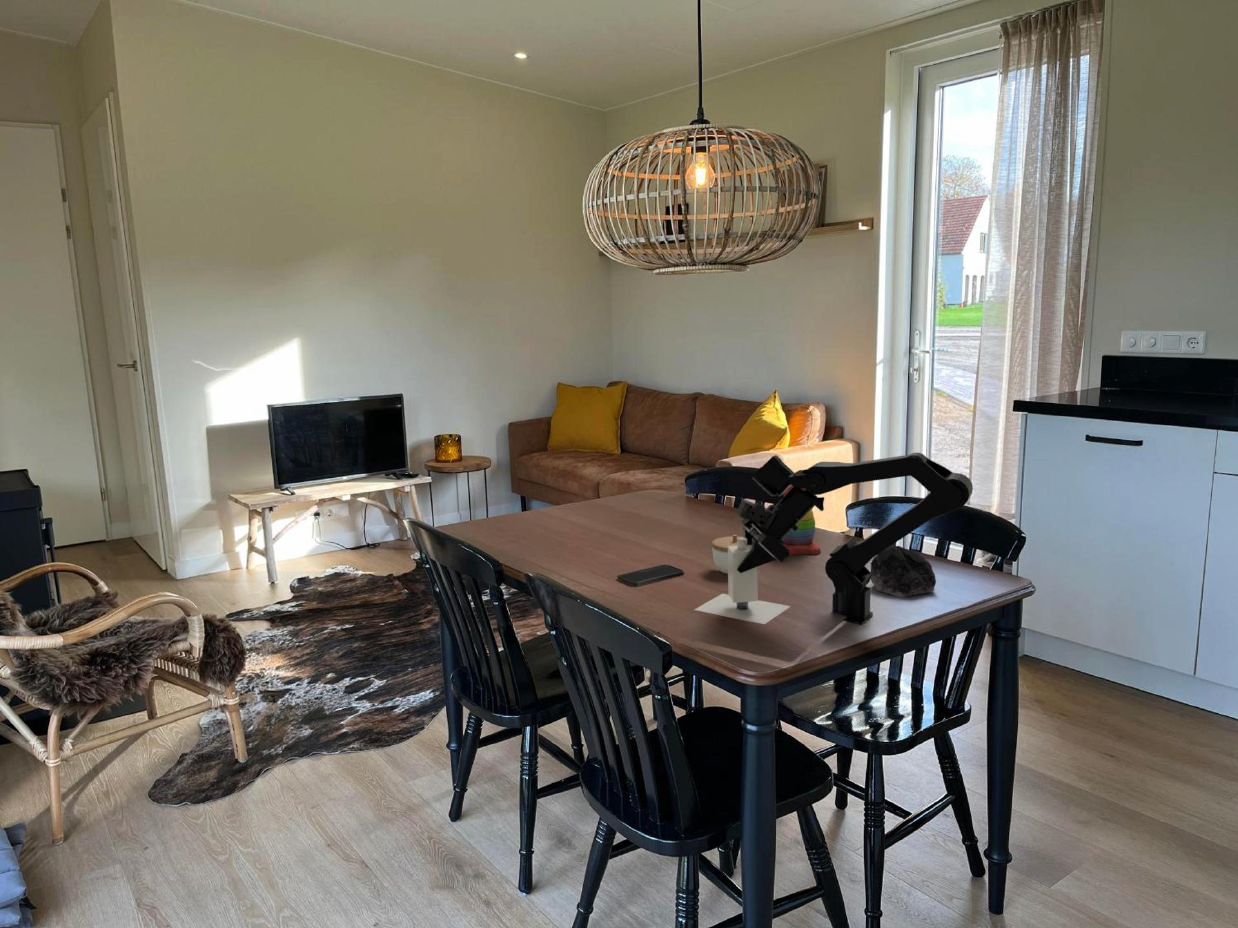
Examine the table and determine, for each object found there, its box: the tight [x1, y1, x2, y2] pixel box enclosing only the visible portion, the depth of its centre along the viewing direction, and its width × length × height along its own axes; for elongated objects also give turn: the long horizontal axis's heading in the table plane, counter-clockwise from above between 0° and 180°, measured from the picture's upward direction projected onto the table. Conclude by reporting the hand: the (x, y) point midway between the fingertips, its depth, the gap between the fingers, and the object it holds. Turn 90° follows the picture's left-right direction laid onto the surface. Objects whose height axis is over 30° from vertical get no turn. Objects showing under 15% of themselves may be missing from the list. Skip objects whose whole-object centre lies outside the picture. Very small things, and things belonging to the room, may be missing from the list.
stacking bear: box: [782, 485, 822, 556], centre depth 221 cm, size 11×10×18 cm
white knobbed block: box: [727, 538, 759, 603], centre depth 176 cm, size 5×5×12 cm
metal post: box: [737, 602, 748, 610], centre depth 178 cm, size 2×2×2 cm
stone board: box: [694, 593, 791, 625], centre depth 178 cm, size 16×12×1 cm
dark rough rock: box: [870, 545, 937, 598], centre depth 190 cm, size 13×14×10 cm
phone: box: [616, 564, 685, 587], centre depth 204 cm, size 8×1×15 cm
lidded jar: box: [711, 534, 744, 575], centre depth 204 cm, size 11×11×9 cm
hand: (735, 567), depth 176 cm, fingers closed on white knobbed block, 5 cm apart
